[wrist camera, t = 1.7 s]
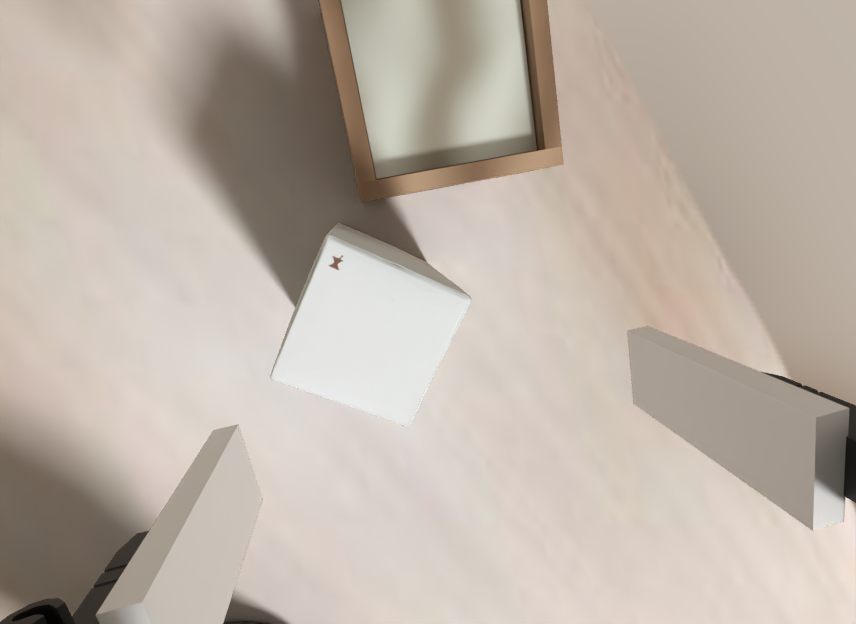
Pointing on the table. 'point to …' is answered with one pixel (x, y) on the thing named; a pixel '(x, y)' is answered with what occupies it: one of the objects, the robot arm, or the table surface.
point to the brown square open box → (443, 90)
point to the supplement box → (369, 326)
